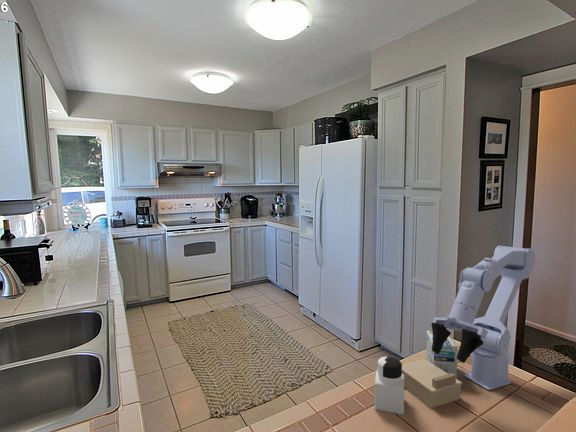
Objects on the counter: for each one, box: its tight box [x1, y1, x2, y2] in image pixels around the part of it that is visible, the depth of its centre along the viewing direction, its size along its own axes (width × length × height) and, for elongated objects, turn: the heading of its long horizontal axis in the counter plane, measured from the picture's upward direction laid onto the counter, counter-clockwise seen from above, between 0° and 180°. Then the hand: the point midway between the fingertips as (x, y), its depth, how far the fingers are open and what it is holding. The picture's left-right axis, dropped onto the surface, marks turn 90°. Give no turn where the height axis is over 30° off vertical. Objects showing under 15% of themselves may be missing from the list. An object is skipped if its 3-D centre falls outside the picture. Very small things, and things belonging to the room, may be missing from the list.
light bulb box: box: [425, 330, 458, 380], centre depth 100 cm, size 11×7×11 cm, turn 168°
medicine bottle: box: [374, 356, 405, 416], centre depth 85 cm, size 7×7×12 cm
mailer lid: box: [402, 358, 463, 393], centre depth 91 cm, size 10×13×3 cm
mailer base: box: [402, 372, 462, 409], centre depth 91 cm, size 10×13×4 cm
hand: (447, 356), depth 82 cm, fingers open, 7 cm apart
